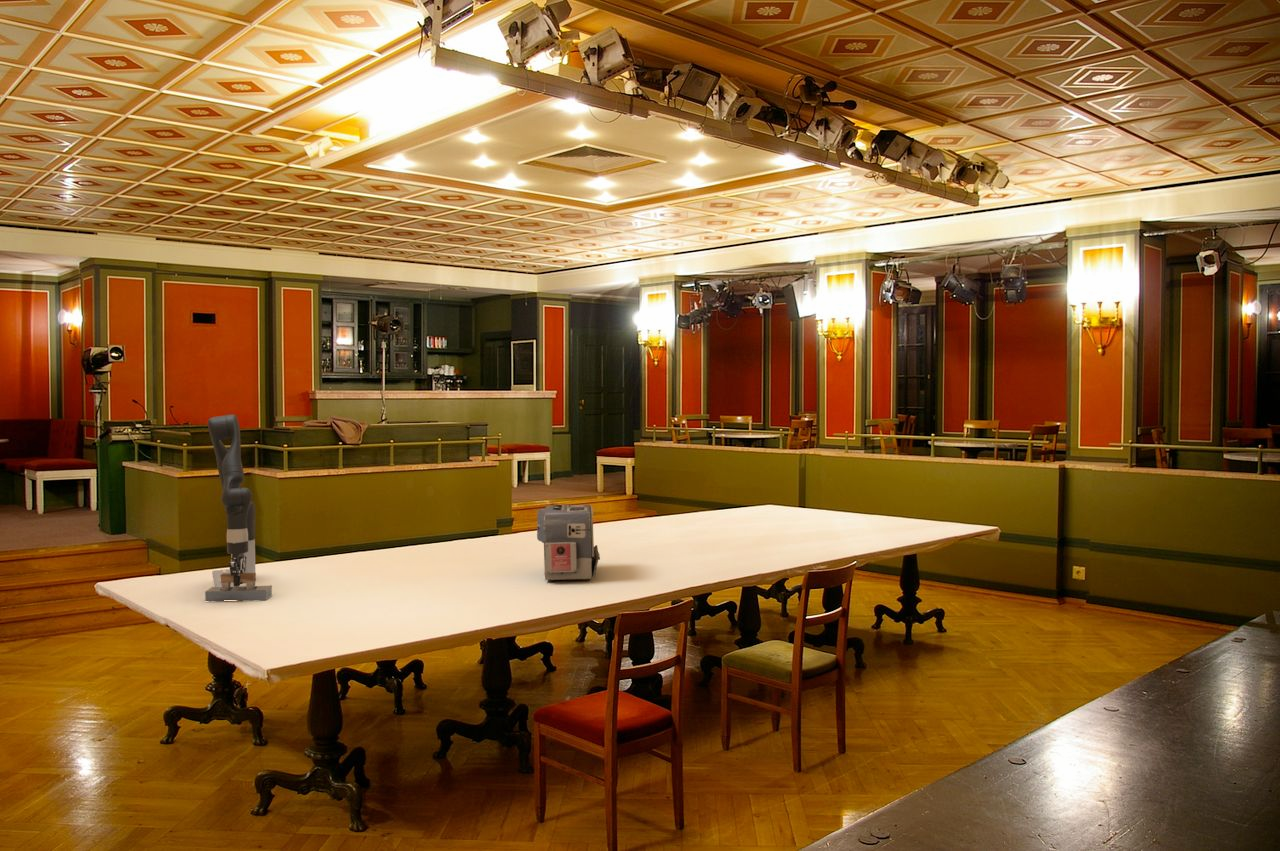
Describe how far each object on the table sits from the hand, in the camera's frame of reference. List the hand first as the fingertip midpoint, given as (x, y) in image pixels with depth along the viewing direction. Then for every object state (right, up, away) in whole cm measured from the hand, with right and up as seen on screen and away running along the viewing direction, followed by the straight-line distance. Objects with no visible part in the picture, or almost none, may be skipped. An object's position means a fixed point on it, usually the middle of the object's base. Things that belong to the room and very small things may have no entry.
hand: (238, 584), depth 361 cm
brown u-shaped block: (0, -4, 0) cm, 4 cm away
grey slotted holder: (0, -5, 0) cm, 5 cm away
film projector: (+122, -3, +43) cm, 130 cm away
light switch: (-11, -5, +14) cm, 18 cm away
